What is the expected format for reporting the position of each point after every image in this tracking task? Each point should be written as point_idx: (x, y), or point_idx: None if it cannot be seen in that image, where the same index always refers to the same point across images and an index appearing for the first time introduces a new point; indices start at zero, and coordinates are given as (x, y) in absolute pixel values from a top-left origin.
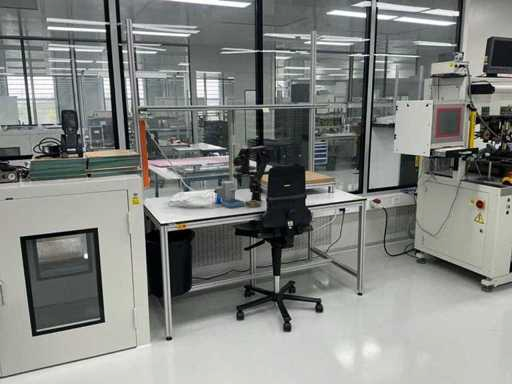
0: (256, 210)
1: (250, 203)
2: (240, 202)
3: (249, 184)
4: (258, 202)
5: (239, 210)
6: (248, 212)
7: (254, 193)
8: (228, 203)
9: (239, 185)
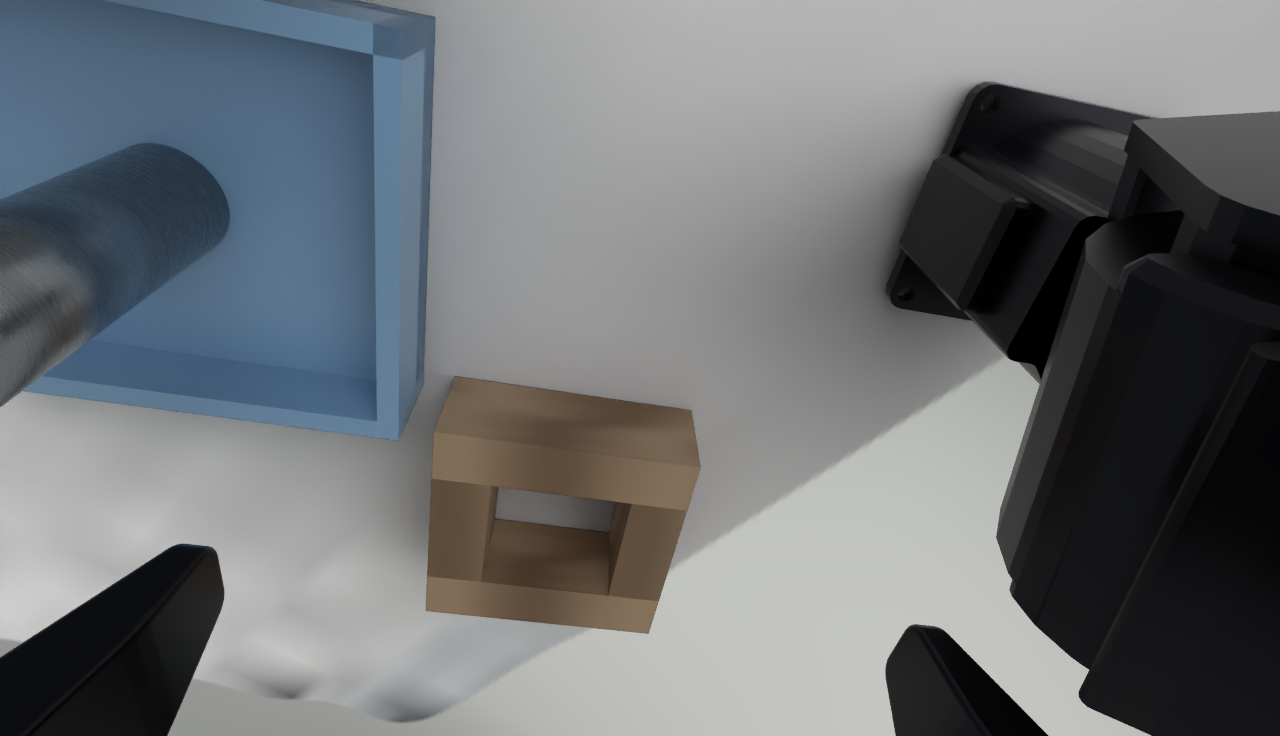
0: (398, 665)
1: (428, 573)
2: (270, 422)
3: (1243, 371)
4: (591, 626)
5: (139, 534)
6: (222, 667)
7: (1005, 350)
8: (78, 29)
9: (112, 595)
